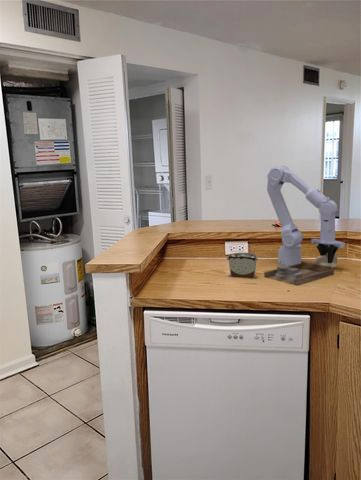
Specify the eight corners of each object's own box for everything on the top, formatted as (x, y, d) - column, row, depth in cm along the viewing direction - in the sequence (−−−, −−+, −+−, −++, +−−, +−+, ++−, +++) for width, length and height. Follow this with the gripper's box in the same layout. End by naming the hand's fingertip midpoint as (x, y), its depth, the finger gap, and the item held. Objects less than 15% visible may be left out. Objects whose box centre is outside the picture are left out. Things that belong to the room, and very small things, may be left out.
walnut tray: (264, 279, 163) (264, 269, 162) (300, 269, 175) (300, 260, 175) (296, 288, 150) (297, 277, 149) (333, 276, 162) (333, 267, 162)
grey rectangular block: (315, 271, 170) (316, 257, 169) (332, 266, 177) (332, 252, 176) (320, 272, 168) (321, 257, 167) (337, 267, 175) (337, 253, 174)
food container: (261, 277, 166) (261, 253, 165) (257, 281, 161) (257, 256, 159) (232, 275, 172) (231, 251, 170) (227, 279, 166) (226, 254, 164)
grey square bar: (275, 277, 162) (275, 266, 161) (282, 275, 164) (282, 265, 164) (295, 282, 154) (295, 271, 153) (302, 280, 156) (302, 269, 155)
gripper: (307, 229, 173) (306, 261, 176) (337, 233, 162) (336, 266, 164) (317, 227, 177) (317, 258, 180) (348, 231, 166) (347, 263, 168)
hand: (327, 262), depth 172 cm, fingers closed on grey rectangular block, 2 cm apart
